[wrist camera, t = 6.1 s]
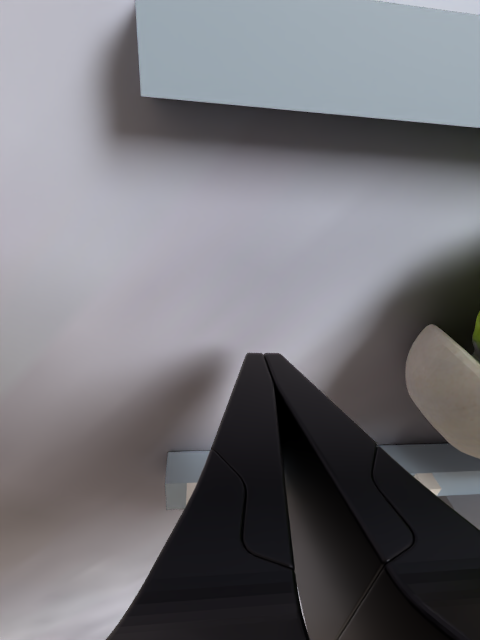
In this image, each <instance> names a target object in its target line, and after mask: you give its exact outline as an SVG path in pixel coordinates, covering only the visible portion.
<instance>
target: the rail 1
mask: <svg viewBox="0 0 480 640" xmlns="http://www.w3.org/2000/svg"><path fill="white" fill-rule="evenodd" d="M135 7H136V24H137V40H138V56H139V72H140V89H141V96H144V97H152V98H162V99H173V100H184V101H195V102H205V103H216V104H227V105H238V106H248V107H259V108H270V109H281V110H291V111H302V112H313V113H324V114H334V115H345V116H356V117H367V118H377V119H388V120H399V121H410V122H420V123H431V124H442V125H453V126H463V127H474V128H480V15H476V14H469V13H461V12H454V11H447V10H440V9H432V8H425V7H418V6H410V5H403V4H396V3H389V2H381V1H374V0H135Z"/></svg>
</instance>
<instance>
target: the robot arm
mask: <svg viewBox="0 0 480 640" xmlns="http://www.w3.org/2000/svg"><path fill="white" fill-rule="evenodd" d="M297 587H298V589H297ZM298 591H299V596H300V600H301V604H302V609H303V613H304V618H305V622H306V626H307V629H306V626H305V623H304V619H303V616H302V611H301V606H300V601H299V596H298ZM307 631H308V632H307ZM106 640H480V530H479V529H478V528H476V527H475V526H474V525H473V524H471V523H470V522H469V521H468V520H466V519H465V518H464V517H463V516H461V515H460V514H459V513H458V512H456V511H455V510H454V509H452V508H451V507H450V506H449V505H447V504H446V503H445V502H444V501H442V500H441V499H440V498H439V497H438V496H436V495H435V494H434V493H433V492H431V491H430V490H429V489H428V488H427V487H425V486H424V485H423V484H422V483H421V482H419V481H418V480H417V479H416V478H415V477H413V476H412V475H411V474H410V473H409V472H408V471H407V470H406V469H404V468H403V467H402V466H401V465H400V464H399V463H398V462H397V461H395V460H394V459H393V458H392V457H391V456H390V455H389V454H388V453H387V452H386V451H385V450H384V449H382V448H381V447H380V446H377V443H376V442H375V441H374V440H373V439H371V438H370V437H369V436H368V435H367V434H366V433H365V432H364V431H363V430H362V429H361V428H360V427H359V426H358V425H356V424H355V423H354V422H353V421H352V420H351V419H350V418H349V417H348V416H347V415H346V414H345V413H344V412H342V411H341V410H340V409H339V408H338V407H337V406H336V405H335V404H334V403H333V402H332V401H331V400H330V399H328V398H327V397H326V396H325V395H324V394H323V393H322V392H321V391H320V390H319V389H318V388H317V387H316V386H314V385H313V384H312V383H311V382H310V381H309V380H308V379H307V378H306V377H305V376H304V375H303V374H302V373H300V372H299V371H298V370H297V369H296V368H295V367H294V366H293V365H292V364H291V363H290V362H289V361H288V360H286V359H285V358H284V357H283V356H282V355H281V354H279V353H265V354H264V355H263V354H262V353H247V354H246V356H245V359H244V362H243V364H242V367H241V370H240V372H239V375H238V378H237V380H236V383H235V386H234V388H233V391H232V394H231V396H230V399H229V402H228V404H227V407H226V410H225V412H224V415H223V418H222V421H221V423H220V426H219V429H218V431H217V434H216V437H215V439H214V442H213V445H212V447H211V451H210V452H209V455H208V457H207V460H206V463H205V465H204V468H203V470H202V472H201V475H200V477H199V480H198V482H197V484H196V487H195V489H194V491H193V493H192V495H191V497H190V499H189V501H188V503H187V505H186V507H185V509H184V511H183V513H182V515H181V516H180V518H179V520H178V522H177V524H176V526H175V527H174V529H173V531H172V533H171V535H170V536H169V538H168V540H167V542H166V544H165V546H164V547H163V549H162V551H161V553H160V555H159V557H158V558H157V560H156V562H155V564H154V566H153V567H152V569H151V571H150V573H149V575H148V577H147V578H146V580H145V582H144V584H143V585H142V587H141V589H140V590H139V592H138V594H137V596H136V597H135V599H134V600H133V602H132V604H131V605H130V607H129V608H128V610H127V611H126V613H125V614H124V616H123V617H122V619H121V620H120V622H119V623H118V625H117V626H116V627H115V629H114V630H113V631H112V633H111V634H110V635H109V636H108V637H107V639H106Z"/></svg>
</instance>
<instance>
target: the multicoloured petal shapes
mask: <svg viewBox="0 0 480 640" xmlns="http://www.w3.org/2000/svg"><path fill="white" fill-rule="evenodd" d="M472 341H473V345H474V348H475V351H474V353H473V354H472V355H470V354H469V353H468V352H467V351H466V350H465V349H464V348H462V347H461V346H460V345H459V344H458V343H456V342H455V341H454V340H453V339H452V338H451V337H449V336H448V335H447V334H446V333H445V332H444V331H442V330H441V329H440V328H439V327H437V326H436V325H434V324H429V325H428V326H426V327H425V328H424V329H423V330H422V331H421V333H420V334H419V335H418V337H417V338H416V340H415V341H414V343H413V345H412V347H411V349H410V351H409V354H408V357H407V361H406V368H405V379H406V386H407V390H408V393H409V395H410V397H411V399H412V400H413V402H414V403H415V404H416V406H417V407H418V408H419V410H420V411H421V412H422V414H423V415H424V416H425V418H426V419H427V420H428V421H429V422H430V423H431V424H432V426H433V427H434V428H435V429H436V430H437V431H438V432H439V433H440V434H441V435H442V436H443V437H444V438H445V439H446V440H447V441H448V442H449V443H450V444H451V445H452V446H453V447H455V448H456V449H458V450H459V451H461V452H463V453H465V454H468V455H470V456H473V457H476V458H479V459H480V311H479V313H478V316H477V319H476V324H475V330H474V332H473V337H472Z"/></svg>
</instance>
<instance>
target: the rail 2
mask: <svg viewBox="0 0 480 640" xmlns="http://www.w3.org/2000/svg"><path fill="white" fill-rule="evenodd" d="M380 447H381V448H382V449H384V450H385V451H386V452H387V453H388V454H389V455H390V456H391V457H392V458H393V459H394V460H395V461H397V462H398V463H399V464H400V465H401V466H402V467H403V468H404V469H406V470H407V471H408V472H409V473H410V474H411V475H412V476H413V477H415V478H416V479H417V480H418V481H419V482H421V483H422V484H423V485H424V486H425V487H427V488H428V489H429V490H430V491H431V492H433V493H434V494H435V495H436V496H449V495H469V494H480V459H479V458H476V457H473V456H470V455H468V454H465V453H463V452H461V451H459V450H458V449H456V448H455V447H453V446H452V445H451V444H450V443H449V444H416V445H383V446H380ZM209 452H210V451H186V452H168V456H167V467H166V477H165V494H166V510H172V509H185V507H186V505H187V503H188V501H189V499H190V497H191V495H192V493H193V491H194V489H195V487H196V484H197V482H198V480H199V477H200V475H201V472H202V470H203V468H204V465H205V463H206V460H207V457H208V455H209Z"/></svg>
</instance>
